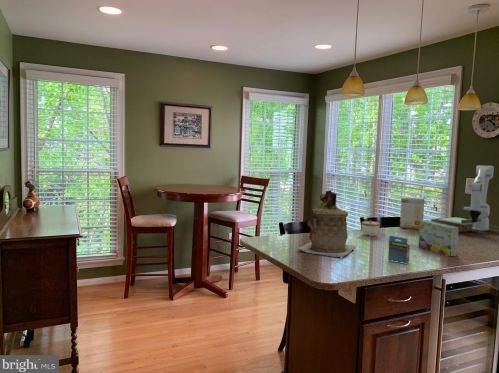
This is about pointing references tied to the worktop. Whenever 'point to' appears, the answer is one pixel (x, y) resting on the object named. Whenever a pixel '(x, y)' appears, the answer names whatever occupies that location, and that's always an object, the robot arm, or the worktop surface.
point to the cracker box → (411, 212)
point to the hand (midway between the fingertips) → (474, 222)
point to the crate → (455, 225)
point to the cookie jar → (328, 229)
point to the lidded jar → (370, 228)
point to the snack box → (438, 237)
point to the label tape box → (398, 249)
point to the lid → (460, 220)
